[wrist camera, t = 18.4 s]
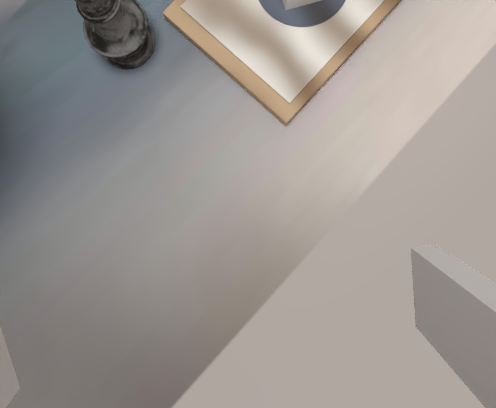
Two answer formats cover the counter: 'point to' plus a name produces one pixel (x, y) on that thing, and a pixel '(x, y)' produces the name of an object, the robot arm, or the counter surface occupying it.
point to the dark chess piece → (117, 31)
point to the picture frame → (278, 42)
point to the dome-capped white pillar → (297, 3)
